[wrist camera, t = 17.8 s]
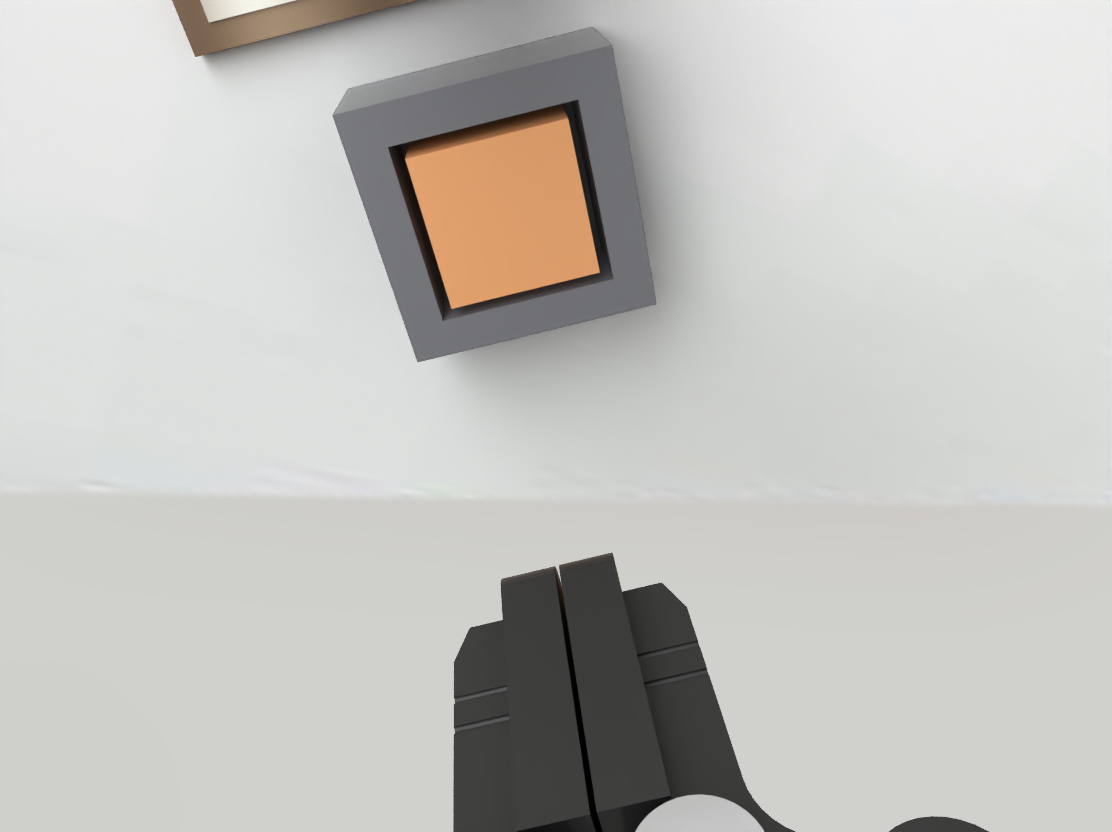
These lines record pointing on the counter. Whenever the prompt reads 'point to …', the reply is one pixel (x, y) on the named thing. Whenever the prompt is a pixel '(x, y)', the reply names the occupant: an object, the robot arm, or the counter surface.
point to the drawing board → (262, 18)
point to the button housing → (475, 98)
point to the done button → (504, 205)
